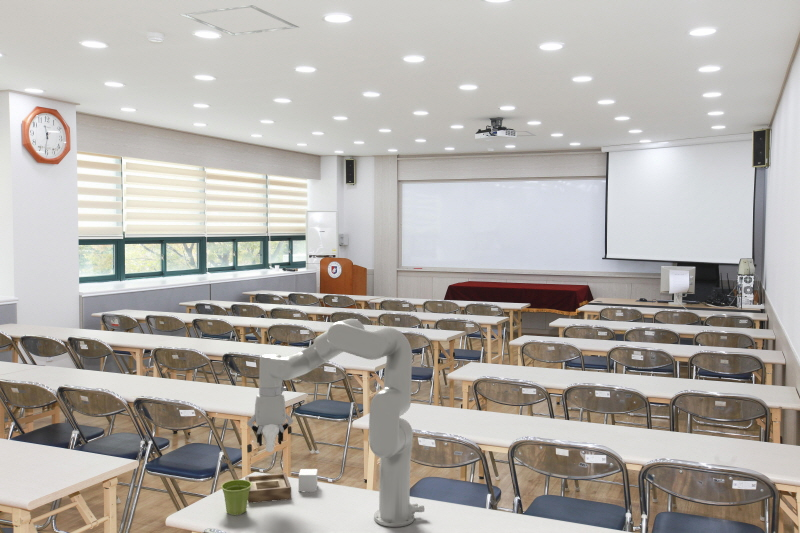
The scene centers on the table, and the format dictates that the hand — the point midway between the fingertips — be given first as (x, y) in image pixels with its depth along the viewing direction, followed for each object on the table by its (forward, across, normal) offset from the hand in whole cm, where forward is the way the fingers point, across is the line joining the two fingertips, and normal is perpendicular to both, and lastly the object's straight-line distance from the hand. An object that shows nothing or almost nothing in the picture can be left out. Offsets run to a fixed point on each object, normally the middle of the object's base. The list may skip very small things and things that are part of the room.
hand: (269, 443), depth 228 cm
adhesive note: (+18, -14, -3) cm, 23 cm away
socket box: (+18, 0, -2) cm, 18 cm away
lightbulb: (+3, 0, 0) cm, 3 cm away
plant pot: (+18, +12, +10) cm, 24 cm away
